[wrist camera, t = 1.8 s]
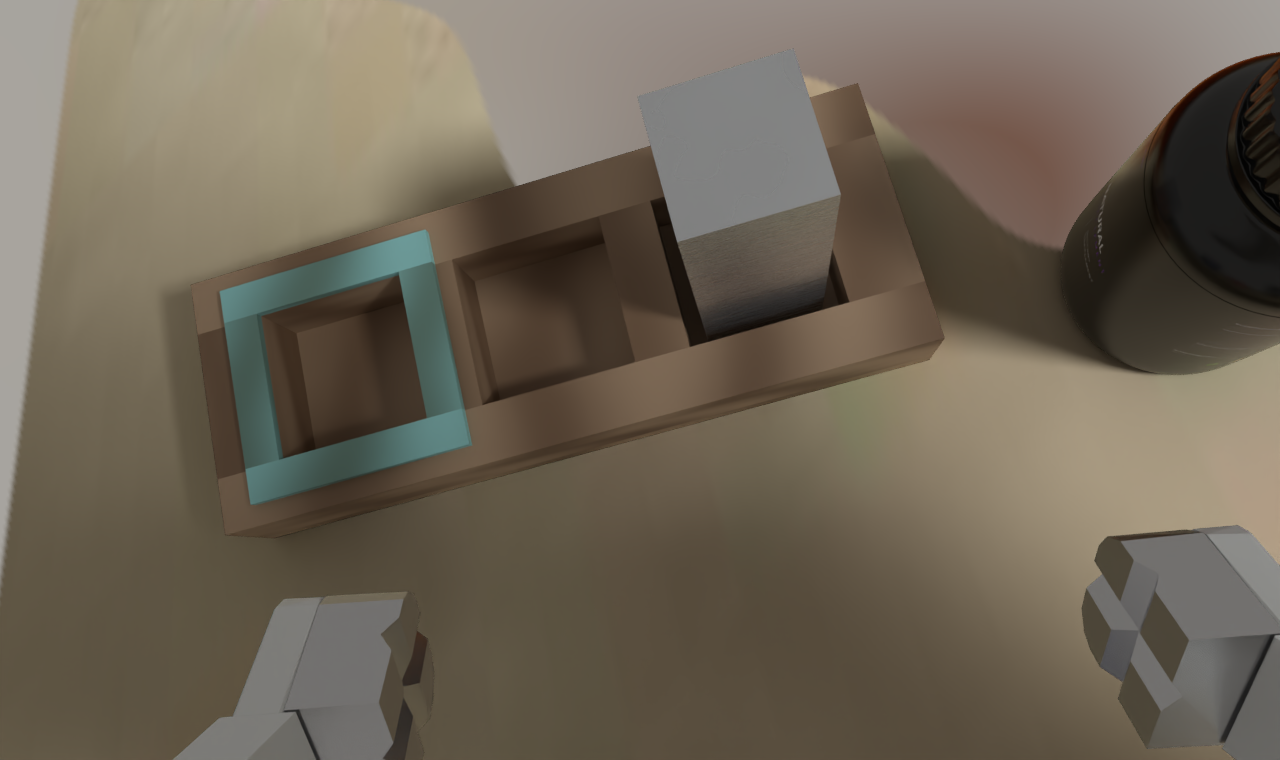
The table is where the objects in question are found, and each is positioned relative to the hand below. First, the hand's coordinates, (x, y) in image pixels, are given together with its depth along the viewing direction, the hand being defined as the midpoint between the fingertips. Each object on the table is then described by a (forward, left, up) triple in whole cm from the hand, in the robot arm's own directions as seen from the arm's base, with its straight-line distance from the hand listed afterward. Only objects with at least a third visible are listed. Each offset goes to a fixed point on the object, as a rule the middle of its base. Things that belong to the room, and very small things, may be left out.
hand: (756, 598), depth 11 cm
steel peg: (-2, -10, -19) cm, 22 cm away
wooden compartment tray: (+5, -10, -20) cm, 23 cm away
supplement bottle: (-15, -6, -20) cm, 26 cm away
